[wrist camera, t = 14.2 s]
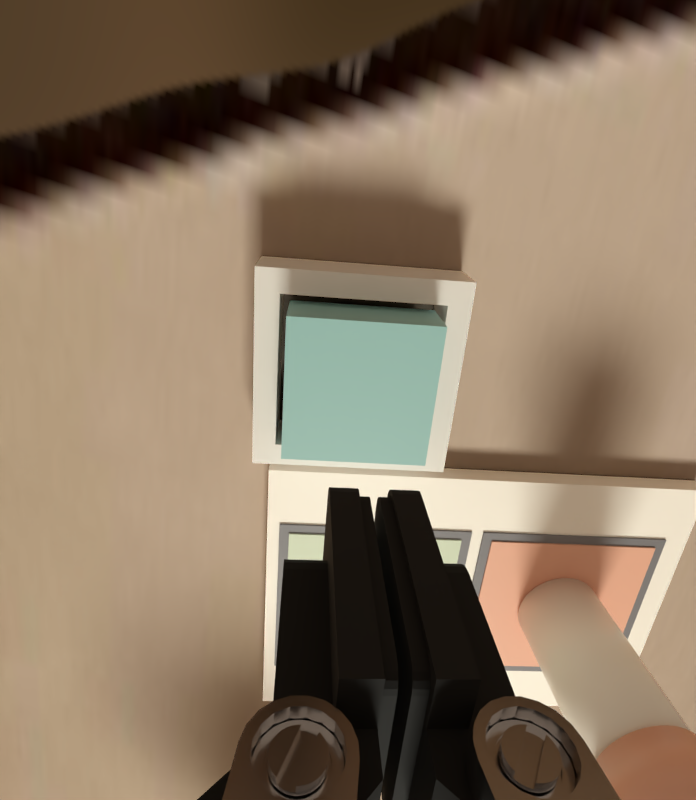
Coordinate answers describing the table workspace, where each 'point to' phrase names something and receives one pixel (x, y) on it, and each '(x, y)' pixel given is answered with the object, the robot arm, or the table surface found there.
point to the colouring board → (505, 543)
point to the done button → (360, 382)
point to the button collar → (365, 283)
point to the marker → (609, 693)
